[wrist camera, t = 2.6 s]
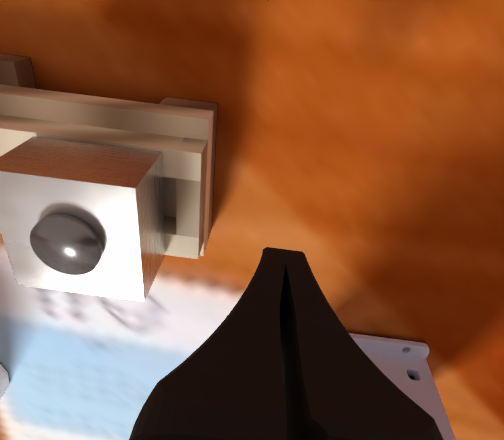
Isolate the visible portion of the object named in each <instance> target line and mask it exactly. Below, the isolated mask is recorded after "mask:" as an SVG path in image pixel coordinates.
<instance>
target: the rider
mask: <svg viewBox="0 0 504 440" xmlns="http://www.w3.org/2000/svg"><path fill="white" fill-rule="evenodd" d="M0 231H1V234H2V238H3V241H4V244H5V247H6V250H7V253H8V256H9V260H10V263H11V266H12V269H13V272H14V275H15V278H16V281H17V285H21V286H29V287H36V288H44V289H51V290H59V291H67V292H74V293H82V294H90V295H97V296H105V297H112V298H120V299H128V300H135V301H143V302H144V301H145V299H146V296H147V294H148V292H149V290H150V287H151V285H152V283H153V281H154V279H155V276H156V274H157V272H158V270H159V267H160V265H161V263H162V261H163V258H164V256H165V230H164V198H163V166H162V152H156V151H148V150H140V149H132V148H125V147H117V146H109V145H101V144H93V143H85V142H77V141H69V140H61V139H53V138H45V137H37V136H33V137H32V138H30V139H28V140H27V141H25V142H23V143H22V144H20V145H18V146H17V147H15V148H14V149H12V150H10V151H9V152H7V153H5V154H4V155H2V156H0Z"/></svg>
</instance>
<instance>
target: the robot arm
mask: <svg viewBox="0 0 504 440" xmlns="http://www.w3.org/2000/svg"><path fill="white" fill-rule="evenodd" d="M429 352H430V350H429V347H428V345H427V344H426V343H422V342H414V341H407V340H399V339H391V338H384V337H376V336H369V335H361V334H353V333H348V332H347V330H346V329H345V328H344V326H343V325H342V323H341V322H340V320H339V319H338V317H337V316H336V314H335V313H334V311H333V310H332V308H331V307H330V305H329V303H328V301H327V300H326V298H325V296H324V294H323V293H322V291H321V289H320V287H319V285H318V283H317V281H316V279H315V277H314V275H313V273H312V271H311V269H310V266H309V264H308V262H307V259H306V257H305V254H304V253H303V252H300V251H292V250H285V249H277V248H269V247H266V248H265V249H263V253H262V257H261V260H260V263H259V265H258V268H257V270H256V272H255V274H254V276H253V278H252V280H251V282H250V283H249V285H248V287H247V289H246V290H245V292H244V293H243V295H242V296H241V298H240V299H239V301H238V303H237V304H236V305H235V307H234V308H233V310H232V311H231V312H230V314H229V315H228V316H227V317H226V319H225V320H224V321H223V322H222V323H221V325H220V326H219V327H218V328H217V329H216V330H215V331H214V333H213V334H212V335H211V336H210V337H209V338H208V339H207V340H206V341H205V342H204V343H203V344H202V345H201V346H200V347H199V348H198V349H197V350H196V351H195V352H194V353H193V354H191V355H190V356H189V357H188V358H187V359H186V360H185V361H184V362H183V363H181V364H180V365H179V366H178V367H177V368H175V369H174V370H173V371H171V372H170V373H169V374H168V375H166V376H165V377H164V378H163V379H161V380H160V381H159V382H158V383H157V385H156V386H155V388H154V389H153V391H152V392H151V394H150V395H149V397H148V399H147V400H146V402H145V404H144V406H143V407H142V409H141V411H140V413H139V416H138V418H137V420H136V422H135V424H134V427H133V430H132V433H131V436H130V439H129V440H456V439H455V436H454V434H453V431H452V428H451V425H450V423H449V420H448V417H447V415H446V412H445V409H444V406H443V404H442V401H441V398H440V396H439V393H438V390H437V387H436V385H435V382H434V379H433V377H432V374H431V371H430V368H429V366H428V363H427V360H426V358H427V356H428V354H429Z"/></svg>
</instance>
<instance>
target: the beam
mask: <svg viewBox="0 0 504 440" xmlns="http://www.w3.org/2000/svg"><path fill="white" fill-rule="evenodd" d="M217 110H218V103H211V102H203V101H195V100H187V99H179V98H171V97H165V98H164V99H163V100H162V101H161V102H160V103H159V104H154V103H146V102H138V101H130V100H122V99H114V98H106V97H98V96H90V95H82V94H74V93H66V92H58V91H49V90H41V89H36V84H35V79H34V74H33V70H32V65H31V60H30V57H23V56H15V55H7V54H0V156H2V155H4V154H5V153H7V152H9V151H10V150H12V149H14V148H15V147H17V146H18V145H20V144H22V143H23V142H25V141H27V140H28V139H30V138H32V137H33V136H37V137H45V138H53V139H61V140H69V141H77V142H85V143H93V144H101V145H109V146H117V147H125V148H132V149H140V150H148V151H156V152H162V166H163V198H164V230H165V255H171V256H178V257H186V258H194V259H198V258H199V255H201V256H203V255H204V252H205V249H206V245H207V242H208V239H209V236H210V232H211V228H212V208H213V189H214V169H215V149H216V130H217ZM0 233H1V231H0Z"/></svg>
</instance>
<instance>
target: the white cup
mask: <svg viewBox="0 0 504 440" xmlns="http://www.w3.org/2000/svg"><path fill="white" fill-rule="evenodd" d="M9 384H10V382H9V376H8V372H7V371H6V370H5V369H4V367H3V366H2V365H1V364H0V399H1V397H2V396H3V394H4V393H5V391H6V390H7V388H8V386H9Z"/></svg>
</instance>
